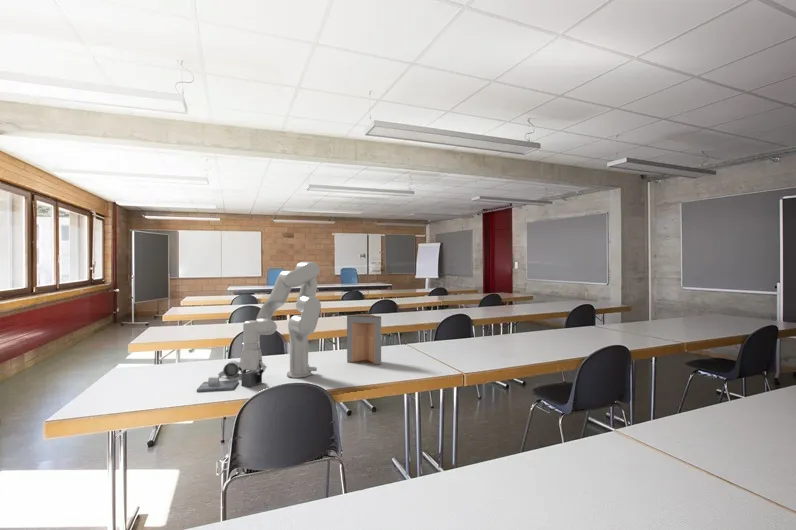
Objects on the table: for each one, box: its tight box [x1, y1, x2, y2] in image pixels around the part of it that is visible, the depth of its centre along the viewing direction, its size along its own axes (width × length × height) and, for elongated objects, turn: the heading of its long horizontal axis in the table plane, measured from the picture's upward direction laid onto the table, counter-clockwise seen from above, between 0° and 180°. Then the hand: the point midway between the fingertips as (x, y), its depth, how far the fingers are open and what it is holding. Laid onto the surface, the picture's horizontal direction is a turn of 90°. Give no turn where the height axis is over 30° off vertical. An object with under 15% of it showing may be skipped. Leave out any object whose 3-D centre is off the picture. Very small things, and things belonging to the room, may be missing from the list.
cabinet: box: [346, 313, 382, 366], centre depth 244 cm, size 21×10×28 cm, turn 73°
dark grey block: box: [240, 370, 263, 388], centre depth 201 cm, size 8×6×6 cm
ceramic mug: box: [218, 360, 241, 378], centre depth 216 cm, size 11×8×8 cm
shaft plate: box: [196, 376, 239, 393], centre depth 197 cm, size 16×12×5 cm
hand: (251, 381), depth 201 cm, fingers open, 8 cm apart
